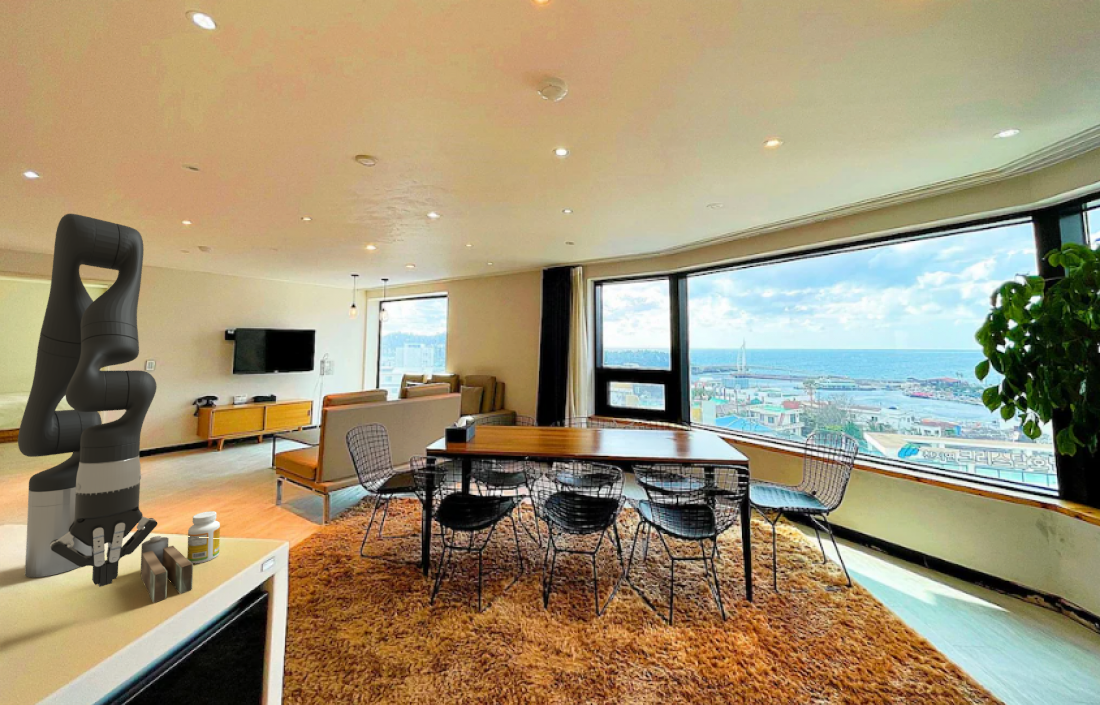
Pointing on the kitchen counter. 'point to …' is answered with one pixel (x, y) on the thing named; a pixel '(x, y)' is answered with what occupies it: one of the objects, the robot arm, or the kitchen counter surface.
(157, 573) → the tong arm
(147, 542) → the tongs frame
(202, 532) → the supplement bottle
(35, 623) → the kitchen counter surface
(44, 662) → the kitchen counter surface
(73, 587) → the kitchen counter surface
